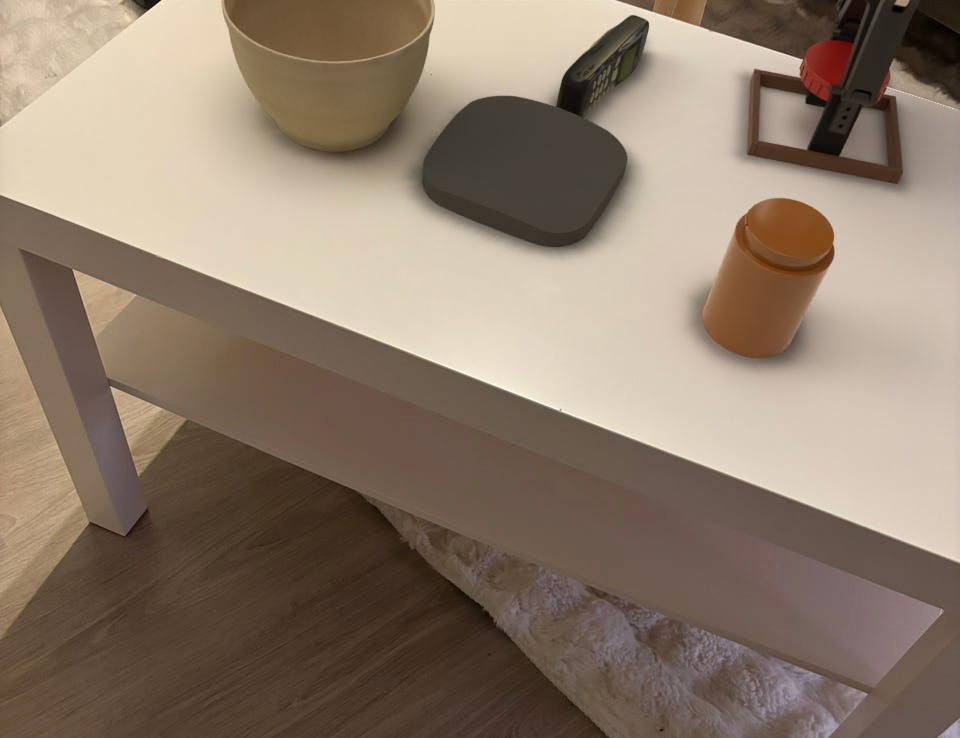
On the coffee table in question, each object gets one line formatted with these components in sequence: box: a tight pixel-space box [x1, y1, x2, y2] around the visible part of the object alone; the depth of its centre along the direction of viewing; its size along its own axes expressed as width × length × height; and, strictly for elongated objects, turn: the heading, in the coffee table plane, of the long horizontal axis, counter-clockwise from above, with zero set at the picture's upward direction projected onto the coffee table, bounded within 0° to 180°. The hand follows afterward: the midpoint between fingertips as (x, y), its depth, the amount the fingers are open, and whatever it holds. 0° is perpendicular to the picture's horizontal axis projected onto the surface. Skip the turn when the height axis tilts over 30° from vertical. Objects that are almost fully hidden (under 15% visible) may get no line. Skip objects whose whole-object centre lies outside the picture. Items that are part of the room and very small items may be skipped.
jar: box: [701, 197, 836, 359], centre depth 74 cm, size 7×7×10 cm
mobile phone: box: [555, 14, 650, 119], centre depth 91 cm, size 5×3×15 cm
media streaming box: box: [421, 95, 628, 248], centre depth 84 cm, size 15×15×3 cm
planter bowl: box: [221, 0, 436, 153], centre depth 82 cm, size 16×16×11 cm
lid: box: [798, 39, 891, 108], centre depth 87 cm, size 7×7×2 cm
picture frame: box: [746, 68, 904, 185], centre depth 91 cm, size 13×11×2 cm
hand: (820, 129), depth 91 cm, fingers closed on lid, 7 cm apart
